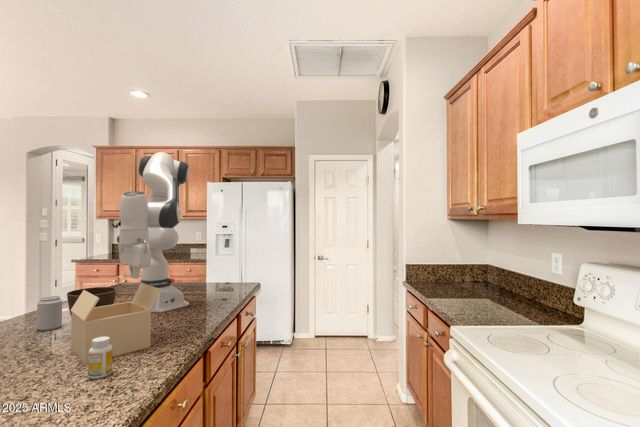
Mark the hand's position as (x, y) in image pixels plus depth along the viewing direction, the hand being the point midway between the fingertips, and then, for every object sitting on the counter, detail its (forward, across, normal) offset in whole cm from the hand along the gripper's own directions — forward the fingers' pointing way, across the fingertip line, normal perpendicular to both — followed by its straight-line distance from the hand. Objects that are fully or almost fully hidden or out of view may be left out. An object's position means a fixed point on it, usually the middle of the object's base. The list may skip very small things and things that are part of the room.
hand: (134, 278), depth 115 cm
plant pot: (+22, +19, +9) cm, 30 cm away
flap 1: (+6, 0, +14) cm, 16 cm away
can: (+22, +40, +18) cm, 49 cm away
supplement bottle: (+21, -20, +16) cm, 33 cm away
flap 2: (+6, 0, -3) cm, 7 cm away
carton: (+22, 0, +8) cm, 23 cm away
